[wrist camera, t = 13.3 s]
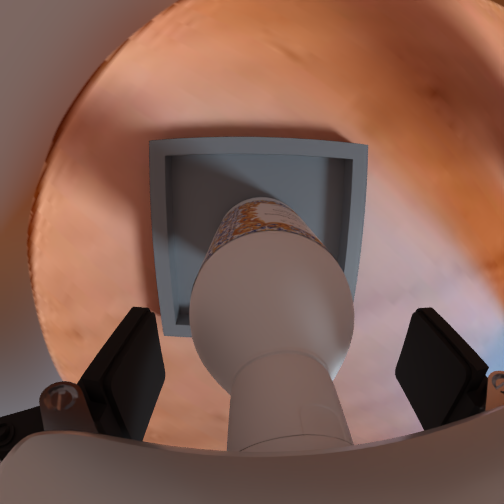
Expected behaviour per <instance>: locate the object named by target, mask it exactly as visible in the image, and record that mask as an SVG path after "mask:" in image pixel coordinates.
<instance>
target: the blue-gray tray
mask: <svg viewBox="0 0 504 504" xmlns="http://www.w3.org/2000/svg"><path fill="white" fill-rule="evenodd" d="M367 166H368V145H364V144H355V143H346V142H336V141H325V140H312V139H297V138H275V137H201V138H179V139H164V140H151V141H149V168H150V201H151V220H152V236H153V248H154V260H155V270H156V280H157V289H158V297H159V305H160V312H161V320H162V326H163V333H164V336H177V337H192V334H191V329H190V319H189V309H190V299H191V292H192V287H193V284H194V282H195V279H196V277H197V275H198V272H199V270H200V268H201V265H202V263H203V261H204V259H205V256H206V254H207V252H208V250H209V247H210V245H211V243H212V241H213V238H214V236H215V234H216V232H217V230H218V227H219V226H220V224H221V222H222V220H223V218H224V216H225V215H226V214H227V212H228V211H229V210H230V209H231V208H233V207H234V206H235V205H237V204H238V203H240V202H242V201H244V200H247V199H250V198H256V197H267V198H273V199H276V200H279V201H281V202H283V203H285V204H286V205H288V206H289V207H290V208H291V209H293V210H294V211H295V213H296V214H297V215H298V216H299V217H300V218H301V219H302V220H303V221H304V222H305V224H306V225H307V226H308V227H309V228H310V229H311V231H312V232H313V233H314V234H315V235H316V236H317V238H318V239H319V240H320V241H321V242H322V243H323V245H324V246H325V247H326V248H327V249H328V251H329V252H330V253H331V254H332V255H333V257H334V258H335V259H336V260H337V262H338V263H339V265H340V266H341V268H342V270H343V272H344V275H345V277H346V279H347V282H348V285H349V287H350V291H351V295H352V299H353V302H354V296H355V289H356V283H357V276H358V269H359V261H360V253H361V244H362V235H363V225H364V214H365V201H366V186H367Z"/></svg>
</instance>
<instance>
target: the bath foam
mask: <svg viewBox="0 0 504 504" xmlns="http://www.w3.org/2000/svg"><path fill="white" fill-rule="evenodd" d="M189 319H190V329H191V334H192V339H193V342H194V345H195V348H196V351H197V353H198V355H199V357H200V359H201V361H202V362H203V364H204V366H205V367H206V369H207V370H208V371H209V373H210V374H211V375H212V376H213V378H214V379H215V380H216V381H217V382H218V383H219V384H220V385H221V386H222V387H223V388H224V389H225V390H226V391H227V392H228V393H229V394H230V395H231V400H230V411H229V425H228V440H227V451H239V452H282V451H303V450H317V449H327V448H336V447H344V446H352V445H354V444H353V441H352V437H351V434H350V431H349V428H348V425H347V422H346V419H345V416H344V413H343V410H342V407H341V404H340V401H339V398H338V395H337V392H336V389H335V387H334V384H333V382H332V381H333V380H334V378H335V376H336V374H337V373H338V371H339V369H340V367H341V365H342V363H343V361H344V359H345V357H346V355H347V352H348V349H349V346H350V343H351V339H352V335H353V329H354V306H353V299H352V295H351V291H350V287H349V285H348V282H347V279H346V277H345V275H344V272H343V270H342V268H341V266H340V265H339V263H338V262H337V260H336V259H335V258H334V257H333V255H332V254H331V253H330V252H329V251H328V249H327V248H326V247H325V246H324V245H323V243H322V242H321V241H320V240H319V239H318V238H317V236H316V235H315V234H314V233H313V232H312V231H311V229H310V228H309V227H308V226H307V225H306V224H305V222H304V221H303V220H302V219H301V218H300V217H299V216H298V215H297V214H296V213H295V211H294V210H293V209H291V208H290V207H289V206H288V205H286V204H285V203H283V202H281V201H279V200H276V199H273V198H267V197H256V198H250V199H247V200H244V201H242V202H240V203H238V204H237V205H235V206H234V207H233V208H231V209H230V210H229V211H228V212H227V214H226V215H225V216H224V218H223V220H222V222H221V224H220V226H219V227H218V230H217V232H216V234H215V236H214V238H213V241H212V243H211V245H210V247H209V250H208V252H207V254H206V256H205V259H204V261H203V263H202V265H201V268H200V270H199V272H198V275H197V277H196V279H195V282H194V284H193V287H192V292H191V299H190V309H189Z"/></svg>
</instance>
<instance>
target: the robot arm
mask: <svg viewBox="0 0 504 504" xmlns="http://www.w3.org/2000/svg"><path fill="white" fill-rule="evenodd" d="M488 368H489V367H488V365H487V364H486V363H485V362H484V361H483V360H482V359H481V358H480V357H479V355H478V354H477V353H476V352H475V351H474V350H473V349H472V348H471V347H470V346H469V345H468V344H467V343H466V342H465V340H464V339H463V338H462V337H461V336H460V335H459V334H458V333H457V332H456V331H455V330H454V329H453V328H452V327H451V326H450V325H449V324H448V323H447V322H446V321H445V320H444V319H443V318H442V317H441V316H440V315H439V314H438V313H437V312H436V311H435V310H434V309H433V308H431V307H429V308H418V309H417V310H416V312H414V313H413V314H412V317H411V321H410V324H409V328H408V331H407V335H406V338H405V341H404V345H403V348H402V351H401V354H400V357H399V360H398V363H397V366H396V369H395V375H396V378H397V380H398V382H399V383H400V385H401V387H402V389H403V391H404V393H405V394H406V396H407V398H408V400H409V402H410V404H411V406H412V408H413V409H414V411H415V413H416V415H417V417H418V419H419V421H420V423H421V425H422V427H423V429H424V431H421V432H418V433H414V434H409V435H405V436H401V437H396V438H392V439H387V440H382V441H376V442H371V443H365V444H358V445H352V446H344V447H336V448H327V449H317V450H303V451H282V452H239V451H219V450H205V449H195V448H186V447H177V446H169V445H162V444H155V443H149V442H143V441H142V440H143V437H144V435H145V432H146V429H147V426H148V424H149V421H150V418H151V415H152V413H153V410H154V407H155V404H156V402H157V399H158V396H159V394H160V391H161V388H162V386H163V383H164V380H165V368H164V363H163V358H162V353H161V347H160V341H159V336H158V330H157V323H156V317H155V314H154V312H150V309H149V308H142V307H133V308H131V310H130V311H129V312H128V314H127V315H126V316H125V318H124V319H123V320H122V322H121V323H120V324H119V326H118V327H117V328H116V330H115V331H114V332H113V334H112V335H111V336H110V338H109V339H108V340H107V342H106V343H105V344H104V346H103V347H102V349H101V350H100V351H99V353H98V354H97V355H96V357H95V358H94V360H93V361H92V362H91V364H90V365H89V367H88V368H87V370H86V371H85V372H84V374H83V375H82V377H81V379H80V380H79V381H78V383H77V384H75V383H72V382H67V381H62V382H56V383H54V384H51V385H50V386H48V387H47V388H45V389H44V391H43V392H42V393H41V395H40V398H39V404H40V406H37V407H34V408H31V409H28V410H24V411H21V412H17V413H14V414H10V415H7V416H3V417H0V504H504V371H494V372H492V373H491V374H490V375H489V376H488V378H487V377H486V375H485V374H486V372H487V370H488Z"/></svg>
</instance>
